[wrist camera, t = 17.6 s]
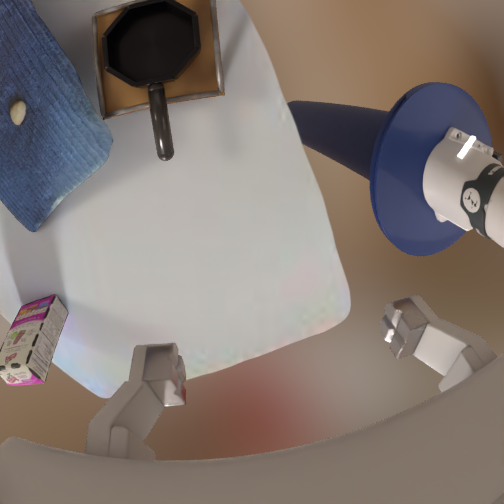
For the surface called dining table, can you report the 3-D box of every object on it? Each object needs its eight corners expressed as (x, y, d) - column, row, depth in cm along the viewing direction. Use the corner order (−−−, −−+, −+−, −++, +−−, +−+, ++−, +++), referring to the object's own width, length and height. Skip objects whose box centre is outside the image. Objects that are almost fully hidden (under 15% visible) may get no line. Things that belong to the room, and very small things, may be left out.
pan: (196, 0, 20) (196, -9, 18) (212, 149, 30) (213, 154, 27) (108, 20, 19) (100, 13, 17) (128, 165, 29) (121, 172, 26)
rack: (212, -1, 23) (215, -15, 19) (222, 95, 30) (225, 95, 26) (103, 22, 21) (90, 13, 17) (113, 117, 29) (100, 120, 25)
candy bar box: (35, 323, 42) (9, 386, 29) (21, 305, 40) (-10, 368, 26) (71, 313, 43) (45, 385, 29) (56, 292, 40) (24, 364, 26)
